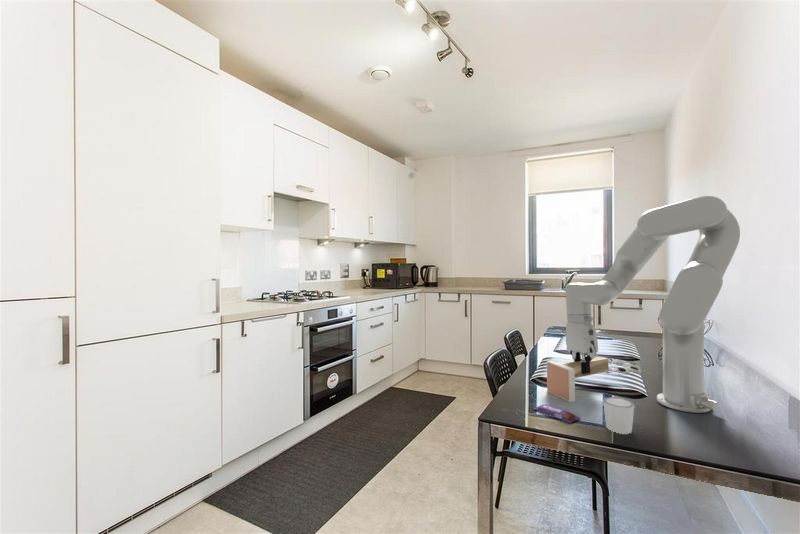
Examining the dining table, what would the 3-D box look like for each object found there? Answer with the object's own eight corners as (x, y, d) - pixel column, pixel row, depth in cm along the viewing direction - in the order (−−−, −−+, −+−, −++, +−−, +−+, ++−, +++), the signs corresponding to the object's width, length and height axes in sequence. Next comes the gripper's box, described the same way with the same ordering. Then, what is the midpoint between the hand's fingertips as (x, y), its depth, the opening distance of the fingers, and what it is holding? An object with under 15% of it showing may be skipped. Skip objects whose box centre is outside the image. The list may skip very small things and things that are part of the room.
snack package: (532, 405, 105) (543, 401, 108) (532, 411, 105) (543, 407, 108) (570, 419, 96) (580, 414, 99) (570, 426, 96) (581, 421, 99)
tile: (575, 401, 111) (574, 369, 111) (569, 402, 110) (568, 369, 110) (552, 390, 120) (551, 360, 120) (546, 391, 120) (546, 361, 120)
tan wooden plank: (614, 372, 124) (613, 359, 124) (568, 382, 118) (567, 368, 118) (597, 367, 130) (596, 355, 130) (553, 376, 125) (552, 363, 125)
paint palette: (627, 361, 152) (627, 356, 152) (653, 376, 132) (653, 371, 132) (577, 360, 155) (577, 355, 155) (596, 375, 135) (596, 370, 135)
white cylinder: (625, 423, 96) (625, 396, 96) (640, 435, 89) (640, 407, 89) (598, 422, 97) (598, 396, 96) (611, 435, 90) (610, 407, 90)
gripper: (607, 320, 118) (611, 377, 118) (570, 315, 133) (573, 365, 133) (589, 322, 115) (592, 380, 115) (553, 317, 131) (556, 368, 131)
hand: (582, 371), depth 124 cm, fingers closed on tan wooden plank, 2 cm apart
